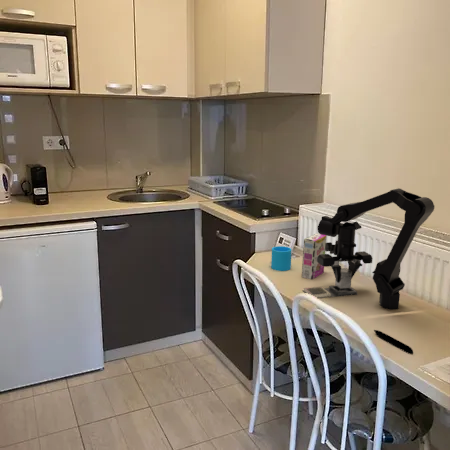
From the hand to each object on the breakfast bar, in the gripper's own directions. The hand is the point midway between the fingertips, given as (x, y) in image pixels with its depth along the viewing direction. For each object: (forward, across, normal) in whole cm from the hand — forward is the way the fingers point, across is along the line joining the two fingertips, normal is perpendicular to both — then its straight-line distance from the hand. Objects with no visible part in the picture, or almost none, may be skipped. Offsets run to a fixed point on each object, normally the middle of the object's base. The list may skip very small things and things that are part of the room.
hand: (343, 281), depth 166 cm
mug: (+5, +12, -34) cm, 36 cm away
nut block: (+2, 0, 0) cm, 2 cm away
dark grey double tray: (+5, +5, 0) cm, 7 cm away
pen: (+5, +3, +36) cm, 37 cm away
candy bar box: (+5, +3, -19) cm, 20 cm away
